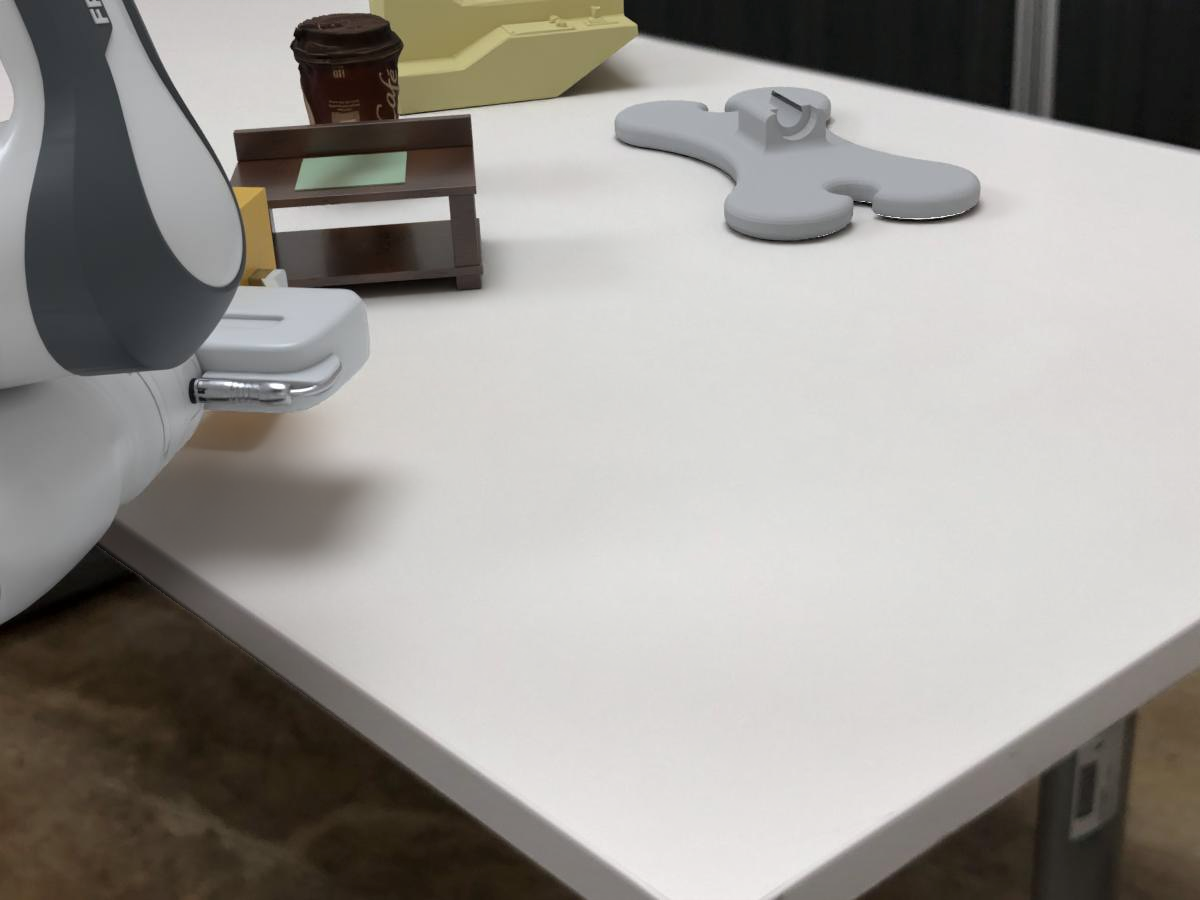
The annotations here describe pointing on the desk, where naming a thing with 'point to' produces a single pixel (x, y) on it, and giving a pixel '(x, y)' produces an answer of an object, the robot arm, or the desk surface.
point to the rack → (369, 197)
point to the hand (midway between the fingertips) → (216, 280)
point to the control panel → (498, 48)
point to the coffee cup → (348, 67)
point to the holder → (795, 163)
